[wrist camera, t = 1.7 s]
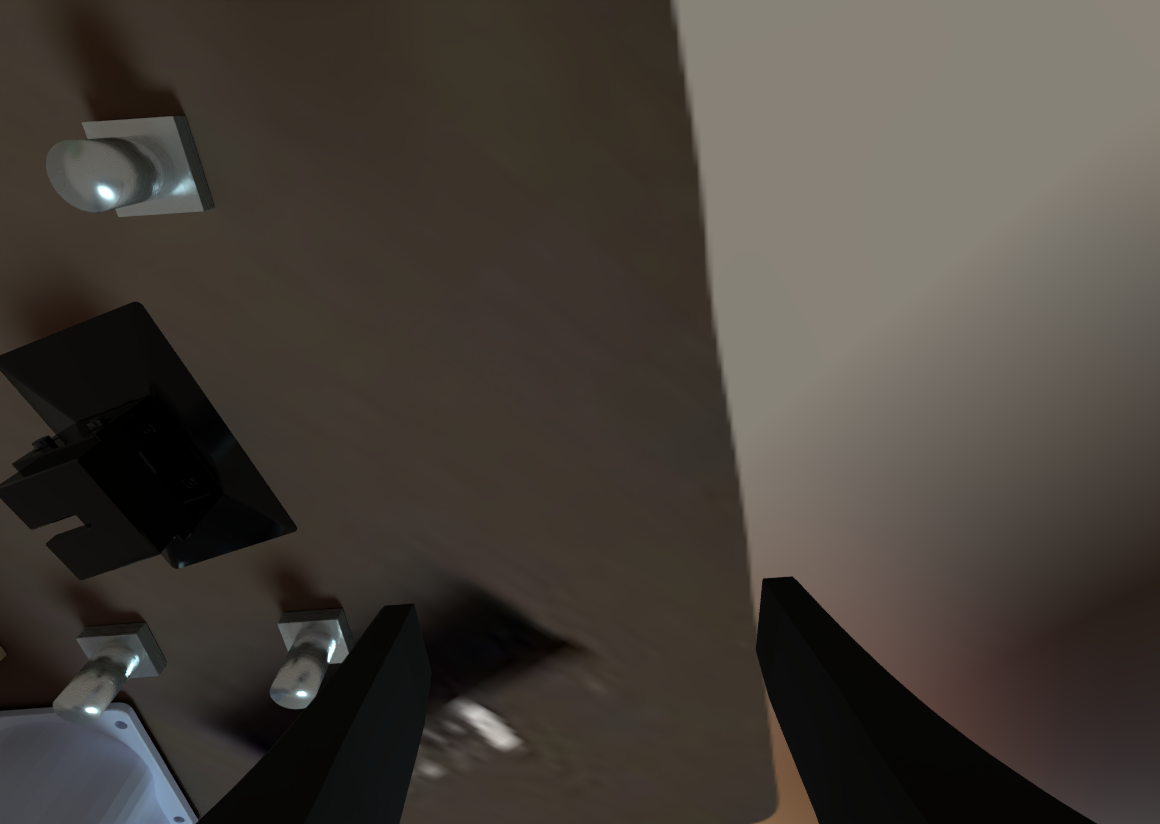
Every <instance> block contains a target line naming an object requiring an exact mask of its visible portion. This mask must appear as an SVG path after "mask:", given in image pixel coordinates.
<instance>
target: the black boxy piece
mask: <svg viewBox="0 0 1160 824" xmlns="http://www.w3.org/2000/svg"><path fill="white" fill-rule="evenodd" d="M0 371H1V372H2V373H3V374H4V375H5V376H6V378H7V379H8V380H9V381H10V382H11V383H12V384H13V386H14V387H15V388H16V389H17V390H18V391H19V392H20V394H21V395H22V396H23V397H24V398H25V399H26V400H27V402H28V403H29V404H30V405H31V406H32V407H33V408H34V410H35V411H36V412H37V413H38V414H39V415H40V416H41V418H42V419H43V420H44V421H45V422H46V423H47V424H48V426H49V427H50V428H51V429H52V430H53V431H54V432H55V434H56V435H55V436H54V437H52V438H51V437H50V436H45V437H42V438H40V439H38V440H36V441H35V442H33V443H32V445H33V446H34V448H35V449H34V450H32V451H31V452H29V453H28V454H26V455H25V456H23V457H22V458H20V459H19V460H17V461H16V462H14V463H12V465H13V466H14V467H15V468H16V469H17V471H18V472H17V473H16V474H14V475H13V476H11V477H10V478H9V479H7V480H6V481H4V482H3V483H1V484H0V498H1V499H2V500H3V501H4V502H5V503H6V504H7V505H8V506H9V508H10V509H11V510H12V511H13V512H14V513H15V514H16V515H17V516H18V517H19V518H20V519H21V520H22V521H23V522H24V523H25V524H26V525H27V526H28V527H29V528H30V529H32V530H33V529H36V528H39V527H42V526H45V525H48V524H51V523H54V522H56V521H59V520H62V519H65V518H68V517H71V516H74V515H76V516H77V517H78V518H79V519H80V520H81V521H82V522H83V523H84V524H85V525H84V526H81V527H78V528H75V529H72V530H69V531H66V532H63V533H60V534H57V535H55V536H54V537H53V538H52V539H51V540H50V541H48V542H47V543H46V546H47V547H48V548H49V549H50V550H51V551H52V552H53V553H54V554H55V555H56V556H57V557H58V558H59V559H60V560H61V561H62V562H63V563H64V564H65V565H66V566H67V567H68V568H69V569H70V570H71V571H72V572H73V573H74V575H75V576H76V577H77V578H78V579H79V580H84V579H87V578H90V577H93V576H96V575H99V574H102V573H105V572H108V571H111V570H114V569H117V568H120V567H124V566H127V565H130V564H133V563H136V562H139V561H142V560H145V559H148V558H151V557H154V556H157V555H160V554H161V555H162V556H163V557H164V558H165V559H166V560H167V562H168V563H169V564H170V565H171V566H172V567H173V568H176V569H179V568H182V567H185V566H188V565H192V564H195V563H198V562H201V561H204V560H207V559H210V558H214V557H217V556H220V555H223V554H226V553H229V552H232V551H236V550H239V549H242V548H245V547H248V546H251V545H254V544H258V543H261V542H264V541H267V540H270V539H273V538H276V537H279V536H283V535H286V534H289V533H292V532H295V531H296V530H297V526H296V525H295V523H294V522H293V521H292V519H291V518H290V516H289V515H288V513H287V512H286V510H285V509H284V508H283V506H282V505H281V503H280V502H279V500H278V499H277V498H276V496H275V495H274V493H273V492H272V490H271V489H270V487H269V486H268V485H267V483H266V482H265V480H264V479H263V477H262V476H261V475H260V473H259V472H258V470H257V469H256V467H255V466H254V464H253V463H252V462H251V460H250V459H249V457H248V456H247V454H246V453H245V452H244V450H243V449H242V447H241V446H240V444H239V443H238V441H237V440H236V439H235V437H234V436H233V434H232V433H231V431H230V430H229V429H228V427H227V426H226V424H225V423H224V421H223V420H222V418H221V417H220V416H219V414H218V413H217V411H216V410H215V408H214V407H213V406H212V404H211V403H210V401H209V400H208V398H207V397H206V395H205V394H204V393H203V391H202V390H201V388H200V387H199V385H198V384H197V383H196V381H195V380H194V378H193V377H192V375H191V374H190V372H189V371H188V370H187V368H186V367H185V365H184V364H183V362H182V361H181V360H180V358H179V357H178V355H177V354H176V352H175V351H174V349H173V348H172V347H171V345H170V344H169V342H168V341H167V339H166V338H165V337H164V335H163V334H162V332H161V331H160V329H159V328H158V326H157V325H156V324H155V322H154V321H153V319H152V318H151V316H150V315H149V314H148V312H147V311H146V309H145V308H144V306H143V305H142V304H141V303H139V302H132V303H130V304H127V305H125V306H122V307H120V308H117V309H115V310H112V311H110V312H107V313H105V314H102V315H100V316H97V317H95V318H92V319H90V320H87V321H85V322H82V323H80V324H77V325H75V326H72V327H70V328H67V329H65V330H62V331H60V332H57V333H55V334H52V335H50V336H47V337H45V338H42V339H40V340H37V341H35V342H32V343H30V344H27V345H25V346H22V347H20V348H17V349H15V350H12V351H10V352H7V353H5V354H2V355H0Z"/></svg>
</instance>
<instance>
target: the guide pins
mask: <svg viewBox="0 0 1160 824" xmlns="http://www.w3.org/2000/svg"><path fill="white" fill-rule="evenodd" d="M82 125H83V127H84V130H85V132H86V135H87V138H88V139H79V140H66V141H62V142H59V143H57V144H55V145H54V146H53V147H52V148H51V149H50V151H49V153H48V155H47V159H46V170H47V174H48V177H49V180H50V182H51V184H52V185H53V187H54V189H55V190H56V191H57V193H58V194H59V195H60V196H61V197H62V198H63V199H64V200H65V201H67V202H68V203H69V204H71V205H73V206H74V207H76V208H78V209H81V210H84V211H88V212H102V211H107V210H111V209H116V212H117V214H118V217H125V216H139V215H154V214H168V213H183V212H197V211H206V210H209V209H213V208H215V207H214V204H213V201H212V198H211V195H210V192H209V189H208V186H207V182H206V179H205V176H204V173H203V170H202V167H201V164H200V161H199V157H198V154H197V151H196V148H195V145H194V142H193V139H192V135H191V132H190V129H189V126H188V123H187V120H186V117H185V116H169V117H155V118H140V119H125V120H111V121H96V122H82ZM278 627H279V629H280V632H281V634H282V637H283V639H284V642H285V645H286V647H287V650H288V654H287V656H286V658H285V660H284V662H283V664H282V666H281V668H280V670H279V672H278V674H277V676H276V678H275V680H274V682H273V685H272V687H271V689H270V695H271V697H272V699H273V700H274V701H275V702H276V703H277V704H279V705H281V706H283V707H286V708H290V709H301V708H305V707H307V706H308V705H309V704H310V702H311V701H312V700H313V699H314V698H315V696H316V694H317V691H318V689H319V687H320V684H321V682H322V679H323V677H324V674H325V672H326V669H327V667H328V665H329V664H331V663H342V662H343V660H344V659H345V658H346V656H347V655H348V654H349V652H350V651H351V650H352V648H353V647H354V643H353V639H352V636H351V633H350V630H349V627H348V624H347V621H346V618H345V614H344V611H343V608H339V609H326V610H312V611H298V612H284V613H283V614H282V616H281V618H280V620H279V622H278ZM76 640H77V641H78V643H79V645H80V646H81V648H82V649H83V651H84V653H85V654H86V656H87V658H88V659H89V660H88V662H87V663H86V664H85V665H84V666H83V668H82V669H81V670H80V671H79V672H78V673H77V675H76V676H75V677H74V678H73V679H72V681H71V682H70V683H69V684H68V685H67V686H66V688H65V689H64V690H63V691H62V692H61V694H60V695H59V696H58V697H57V698H56V699H55V701H54V702H53V709H54V711H55V713H56V714H57V715H58V716H59V717H61V718H62V719H64V720H66V721H68V722H71V723H75V724H82V725H84V724H91V723H94V722H96V721H97V720H98V719H99V717H100V716H101V715H102V713H103V712H104V711H105V709H106V708H107V707H108V705H109V704H110V703H111V701H112V700H113V699H114V697H115V696H116V695H117V693H118V692H119V691H120V689H121V688H122V687H123V685H124V684H125V683H126V681H127V680H128V679H129V678H138V677H152V676H159V675H160V674H161V672H162V671H163V670H164V668H165V667H166V665H167V663H166V661H165V659H164V657H163V655H162V653H161V651H160V649H159V647H158V645H157V643H156V642H155V640H154V638H153V636H152V634H151V632H150V630H149V628H148V626H147V624H146V623H132V624H118V625H104V626H91V627H86V628H85V629H84V630H83V631H82V632H81V633H80V634H79V635H78V637H77V638H76Z"/></svg>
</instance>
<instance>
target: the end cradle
mask: <svg viewBox="0 0 1160 824" xmlns="http://www.w3.org/2000/svg"><path fill="white" fill-rule="evenodd" d="M6 655H7V654H6V653H5V651H4V650H3V648H2V647H1V645H0V661H1V660H2V659H3V658H4V657H5V656H6Z"/></svg>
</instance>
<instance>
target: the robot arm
mask: <svg viewBox="0 0 1160 824" xmlns="http://www.w3.org/2000/svg"><path fill="white" fill-rule="evenodd" d="M756 652H757V656H758V660H759V663H760V667H761V671H762V675H763V678H764V682H765V685H766V689H767V692H768V696H769V699H770V702H771V704H772V707H773V709H774V712H775V714H776V717H777V719H778V722H779V724H780V727H781V730H782V732H783V735H784V737H785V739H786V742H787V744H788V747H789V749H790V752H791V754H792V757H793V759H794V762H795V764H796V767H797V769H798V772H799V774H800V777H801V779H802V782H803V784H804V786H805V789H806V791H807V794H808V796H809V799H810V801H811V804H812V806H813V809H814V811H815V814H816V817H817V819H818V822H819V824H1096V823H1095V822H1093V821H1092V820H1090V819H1088V818H1087V817H1085V816H1083V815H1082V814H1080V813H1078V812H1077V811H1075V810H1073V809H1072V808H1070V807H1068V806H1067V805H1065V804H1064V803H1062V802H1060V801H1059V800H1057V799H1056V798H1054V797H1053V796H1051V795H1050V794H1048V793H1046V792H1045V791H1043V790H1042V789H1040V788H1039V787H1037V786H1036V785H1034V784H1033V783H1031V782H1030V781H1028V780H1027V779H1025V778H1024V777H1023V776H1021V775H1020V774H1018V773H1016V772H1015V771H1013V770H1012V769H1011V768H1009V767H1008V766H1006V765H1005V764H1003V763H1002V762H1001V761H999V760H998V759H996V758H995V757H993V756H992V755H990V754H989V753H988V752H986V751H985V750H983V749H982V748H981V747H979V746H978V745H977V744H975V743H974V742H972V741H971V740H970V739H968V738H967V737H966V736H964V735H963V734H962V733H961V732H959V731H958V730H957V729H955V728H954V727H953V726H952V725H950V724H949V723H948V722H946V721H945V720H944V719H942V718H941V717H940V716H939V715H938V714H936V713H935V712H934V711H933V710H931V709H930V708H929V707H928V706H926V705H925V704H924V703H923V702H922V701H921V700H919V699H918V698H917V697H916V696H915V695H913V694H912V693H911V692H910V691H909V690H908V689H907V688H906V687H904V686H903V685H902V684H901V683H900V682H899V681H898V680H896V679H895V678H894V677H893V676H892V675H891V674H890V673H889V672H887V670H885V669H884V668H883V667H882V666H881V665H880V664H879V663H878V662H877V661H876V660H875V659H874V658H873V657H872V656H871V655H870V654H868V653H867V652H866V651H865V650H864V649H863V648H862V647H861V646H860V645H859V644H858V643H857V642H856V641H855V640H854V639H853V638H852V637H851V636H850V635H849V634H848V633H847V632H846V631H845V630H844V629H843V628H841V626H840V625H839V624H838V623H837V622H836V621H835V620H834V619H833V618H832V617H831V616H830V615H829V614H828V613H827V612H826V611H825V610H824V609H823V608H822V607H821V606H820V605H819V603H817V601H816V600H815V599H814V598H813V597H812V596H811V595H810V594H809V593H808V592H807V591H806V590H805V589H804V588H803V586H802V585H801V584H800V583H799V582H798V581H797V580H796V579H794V578H793V577H778V578H765V579H763V581H762V591H761V602H760V612H759V622H758V633H757V643H756ZM430 680H431V670H430V666H429V662H428V658H427V654H426V650H425V646H424V642H423V638H422V634H421V630H420V626H419V622H418V618H417V614H416V610H415V606H414V604H402V605H388V606H384V607H383V608H382V609H381V610H380V611H379V613H378V614H377V616H376V617H375V618H374V620H373V621H372V622H371V624H370V625H369V627H368V628H367V629H366V631H365V632H364V633H363V635H362V636H361V638H360V639H359V640H358V642H357V643H356V644H355V646H354V647H353V648H352V650H351V651H350V652H349V654H348V655H347V656H346V658H345V659H344V660H343V662H342V663H341V664H340V666H339V667H338V668H337V670H336V671H335V672H334V673H333V675H332V676H331V677H330V678H329V680H328V681H327V682H326V684H325V685H324V686H323V687H322V689H321V690H320V691H319V693H318V694H317V695H316V696H315V698H314V699H313V700H312V701H311V702H310V704H309V705H308V706H307V707H306V708H305V709H304V711H303V712H302V713H301V714H300V715H299V717H298V718H297V719H296V720H295V721H294V722H293V724H292V725H291V726H290V727H289V728H288V729H287V731H286V732H285V733H284V734H283V735H282V736H281V738H280V739H279V740H278V741H277V742H276V743H275V744H274V745H273V746H272V748H271V749H270V750H269V751H268V752H267V753H266V754H265V755H264V756H263V757H262V758H261V760H260V761H259V762H258V763H257V764H256V765H255V766H254V767H253V768H252V769H251V770H250V771H249V772H248V773H247V774H246V775H245V776H244V777H243V778H242V779H241V780H240V781H239V782H238V783H237V784H236V785H235V786H234V787H233V788H232V789H231V790H230V791H229V792H228V793H227V794H226V795H225V796H224V797H223V798H222V799H221V800H220V801H219V802H218V803H217V804H216V805H215V806H214V807H213V808H212V809H211V810H210V811H209V812H207V813H206V814H205V815H204V816H203V817H202V818H201V819H200V820H199V821H198V819H197V817H196V815H195V814H194V812H193V810H192V809H191V807H190V805H189V804H188V802H187V800H186V798H185V797H184V795H183V793H182V792H181V790H180V788H179V787H178V785H177V783H176V781H175V780H174V778H173V776H172V775H171V773H170V771H169V770H168V768H167V766H166V764H165V763H164V761H163V759H162V758H161V756H160V754H159V753H158V751H157V749H156V747H155V746H154V744H153V742H152V741H151V739H150V737H149V736H148V734H147V732H146V730H145V729H144V727H143V725H142V724H141V722H140V720H139V719H138V717H137V715H136V713H135V712H134V710H133V708H132V707H131V706H129V705H128V704H125V703H120V702H117V703H110V704H109V705H108V707H107V708H106V709H105V711H104V712H103V713H102V715H101V716H100V717H99V719H98V720H97V721H96V722H94V723H91V724H84V725H82V724H75V723H71V722H68V721H66V720H64V719H62V718H61V717H59V716H58V715H57V714H56V713H55V711H54V709H53V707H48V708H34V709H21V710H7V711H0V824H399V823H400V819H401V815H402V811H403V807H404V803H405V799H406V795H407V792H408V788H409V784H410V780H411V776H412V772H413V768H414V764H415V760H416V756H417V752H418V748H419V744H420V740H421V736H422V732H423V728H424V724H425V717H426V710H427V703H428V696H429V688H430Z"/></svg>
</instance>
